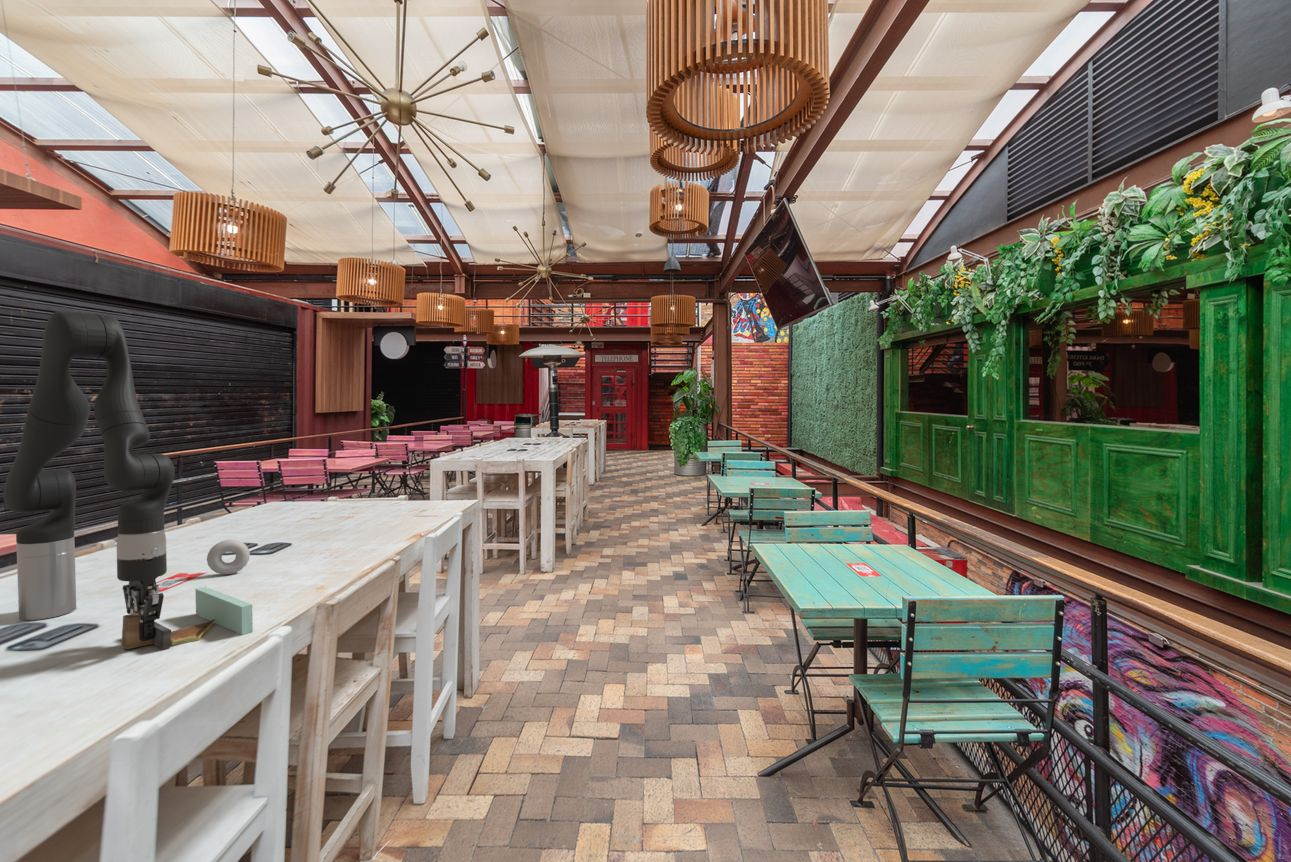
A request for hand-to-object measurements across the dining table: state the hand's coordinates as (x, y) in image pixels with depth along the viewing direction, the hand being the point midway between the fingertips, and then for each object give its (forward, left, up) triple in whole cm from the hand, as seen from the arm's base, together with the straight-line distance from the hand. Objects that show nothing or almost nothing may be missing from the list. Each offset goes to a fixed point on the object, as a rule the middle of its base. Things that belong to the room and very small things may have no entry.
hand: (143, 637), depth 116 cm
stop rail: (0, +14, -1) cm, 14 cm away
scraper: (0, -1, -1) cm, 2 cm away
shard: (+1, +6, -2) cm, 7 cm away
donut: (-40, +32, -2) cm, 52 cm away
